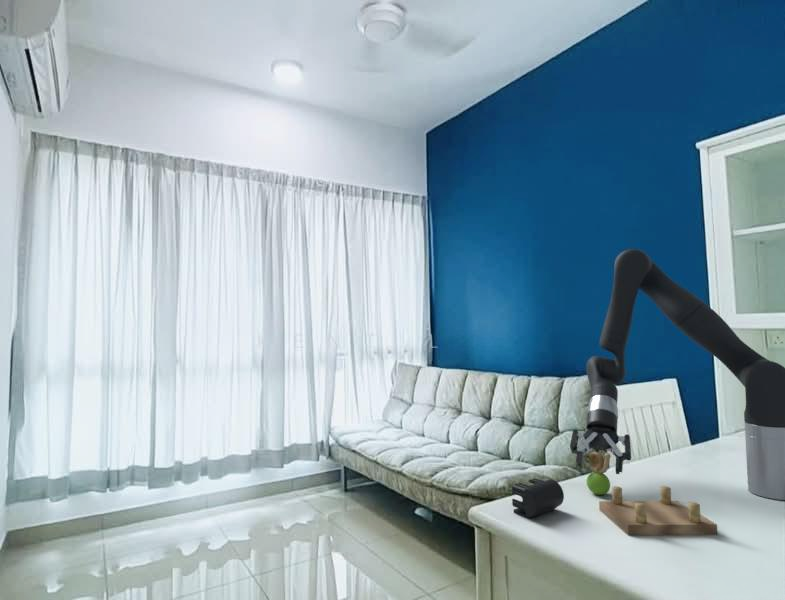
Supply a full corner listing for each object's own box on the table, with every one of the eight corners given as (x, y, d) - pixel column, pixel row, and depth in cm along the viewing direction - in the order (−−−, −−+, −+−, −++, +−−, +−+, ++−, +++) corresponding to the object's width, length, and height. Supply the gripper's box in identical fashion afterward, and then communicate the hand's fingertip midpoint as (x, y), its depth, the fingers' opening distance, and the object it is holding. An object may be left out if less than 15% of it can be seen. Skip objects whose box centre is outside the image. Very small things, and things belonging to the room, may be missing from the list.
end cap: (537, 523, 100) (536, 491, 100) (511, 513, 105) (510, 482, 106) (564, 512, 106) (564, 482, 106) (538, 503, 111) (537, 474, 112)
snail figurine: (604, 500, 112) (602, 450, 113) (582, 492, 118) (580, 444, 119) (619, 497, 115) (617, 447, 116) (596, 489, 121) (595, 442, 121)
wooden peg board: (678, 509, 107) (676, 485, 107) (717, 534, 94) (716, 506, 94) (599, 510, 107) (598, 485, 107) (628, 535, 94) (626, 507, 94)
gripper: (572, 405, 128) (566, 457, 118) (630, 409, 121) (629, 466, 111) (576, 421, 133) (570, 473, 122) (632, 426, 125) (631, 482, 115)
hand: (598, 470), depth 116 cm, fingers open, 8 cm apart
